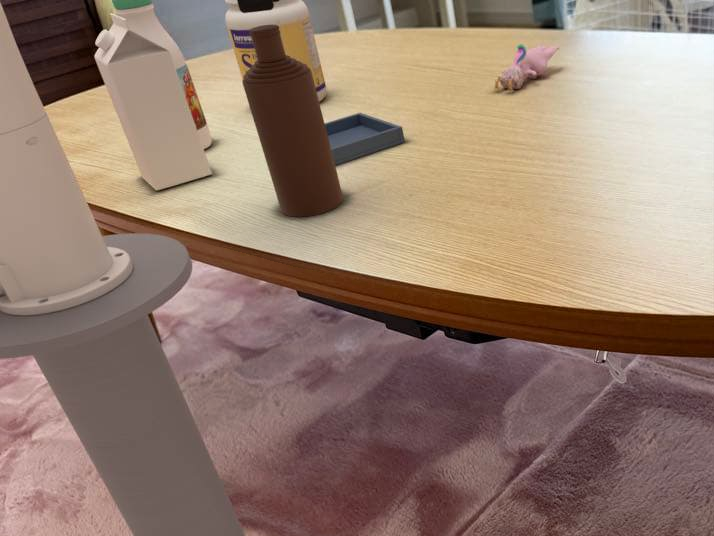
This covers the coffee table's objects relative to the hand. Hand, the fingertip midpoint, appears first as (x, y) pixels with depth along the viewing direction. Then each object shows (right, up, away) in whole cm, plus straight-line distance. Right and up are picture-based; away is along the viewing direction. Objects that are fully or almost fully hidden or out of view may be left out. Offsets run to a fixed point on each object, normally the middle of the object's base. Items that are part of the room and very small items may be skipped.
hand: (261, 4), depth 79 cm
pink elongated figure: (+26, +11, +46) cm, 54 cm away
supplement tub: (-12, +8, +49) cm, 51 cm away
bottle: (+2, -17, +12) cm, 20 cm away
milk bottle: (-22, -4, +34) cm, 41 cm away
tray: (+1, -5, +27) cm, 28 cm away
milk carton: (-19, -10, +24) cm, 33 cm away
